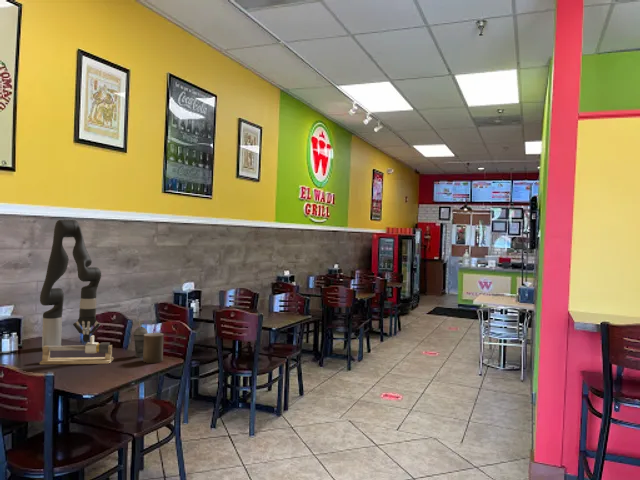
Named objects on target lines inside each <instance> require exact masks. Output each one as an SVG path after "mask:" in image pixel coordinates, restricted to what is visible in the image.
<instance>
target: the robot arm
mask: <svg viewBox="0 0 640 480" xmlns="http://www.w3.org/2000/svg"><path fill="white" fill-rule="evenodd" d="M53 230H54V231H53V238H52V239H53V240H52V247H51V250H50V254H49V255H50V256H49V258H48V264H47V269H46V273H45V278H44V281H43V284H42V285H43V286H42V289H41V291H40V294H39V302H40V304H41V305H42V306H44V307H45V306H53V307H51V308H50V309H49V310H46V311H45V312H43V313H42V330H41V331H42V336H41V339H42V340H41V350H42V351H43V346H62V328H63V327H62V325H63V324H62V323H63V322H62V321H63V318H62V317H63V307H64V295H65V294H64V290H63V289H62V288H61V287H60V288H59V287H54V285H55V284H56V282H58V281H59V279H61V278H62V276H64V274H65V273H66V271H67V270H68V265H69V261H70V260H69V255H68V254H67V252H66V250H65V249H64V246H63V241H64V238H73V239H74V241H75V242H74V246H73V249H72V257H73V259H74V262H75V264H76V269H77V277H78V279H79V280H80V281H81V282H83V283H84V282H86V283H87V282H88V285H85V286H82V287H81V289H80V290H81V291H80V301H79V311H78V312H79V313H78V314H79V315H78V319H77V321H76V322H73V324H72V325H73V327H74V328H75V329H76V330H77V332H78V333H79V334H82V341H83V342H84V343H88V342H90V337H91V334H93V333H95V331H97V329H98V328H99V327H100V326H101V324H102V323H101V322H98V320H97V318H96V317H97V290H98V288H99V284H100V281H101V279H102V271H101V269H100V268H99V267H95V266H93V267H92V266H91V265H92V262H93V261H92V259H91V255H90V254H89V253H88V250H87V248H86V244H85V240H84V236H83V232H82V229H81V225H80V223H79V222H78V221H77V220H75V219H58V220H57V221H56V222H55V225H54V229H53ZM90 266H91V267H90ZM93 326H94V327H93ZM81 327H82V328H81ZM92 327H93V328H92Z"/></svg>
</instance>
